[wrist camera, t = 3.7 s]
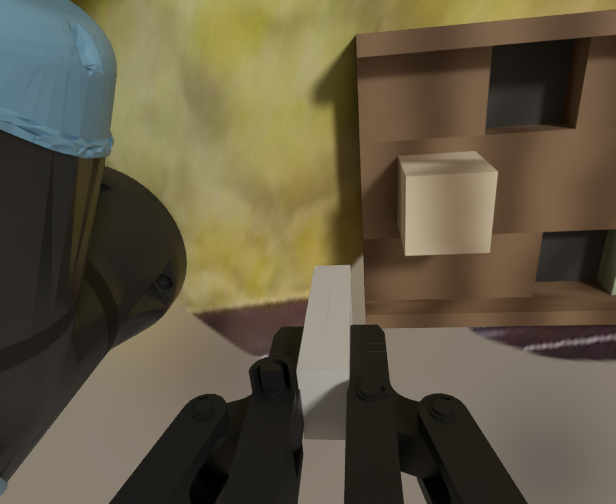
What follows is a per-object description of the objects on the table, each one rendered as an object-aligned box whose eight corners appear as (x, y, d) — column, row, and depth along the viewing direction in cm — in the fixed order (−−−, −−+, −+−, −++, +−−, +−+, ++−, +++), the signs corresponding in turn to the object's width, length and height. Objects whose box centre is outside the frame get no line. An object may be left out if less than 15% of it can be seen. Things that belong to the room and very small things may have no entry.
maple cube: (397, 225, 31) (405, 255, 27) (397, 156, 29) (405, 176, 25) (469, 222, 31) (489, 252, 26) (475, 150, 29) (497, 171, 24)
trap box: (364, 297, 37) (366, 328, 33) (355, 35, 29) (356, 34, 25) (673, 289, 34) (716, 322, 30) (765, -4, 26) (841, -13, 22)
